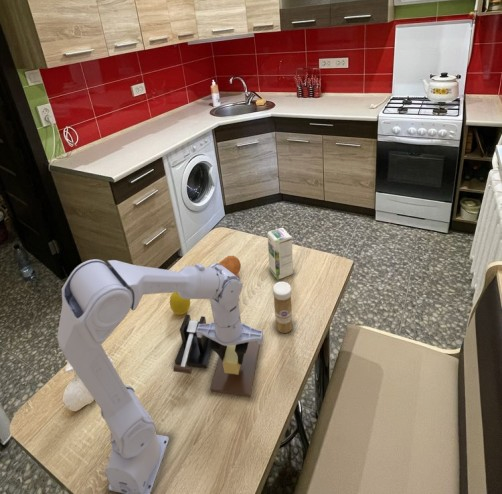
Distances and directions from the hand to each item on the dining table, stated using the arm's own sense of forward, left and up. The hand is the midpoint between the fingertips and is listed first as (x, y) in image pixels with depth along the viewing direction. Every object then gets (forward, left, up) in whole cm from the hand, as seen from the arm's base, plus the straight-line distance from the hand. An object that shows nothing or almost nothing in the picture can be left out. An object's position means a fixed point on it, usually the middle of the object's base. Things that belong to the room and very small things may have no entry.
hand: (233, 359), depth 79 cm
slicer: (+5, +11, -5) cm, 13 cm away
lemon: (+15, +19, -5) cm, 25 cm away
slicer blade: (+1, +11, 0) cm, 11 cm away
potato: (+28, +10, -5) cm, 30 cm away
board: (+2, 0, -5) cm, 5 cm away
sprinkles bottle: (+14, -10, -5) cm, 18 cm away
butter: (0, 0, -1) cm, 1 cm away
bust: (-8, +32, -5) cm, 34 cm away
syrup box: (+34, -7, -5) cm, 35 cm away
